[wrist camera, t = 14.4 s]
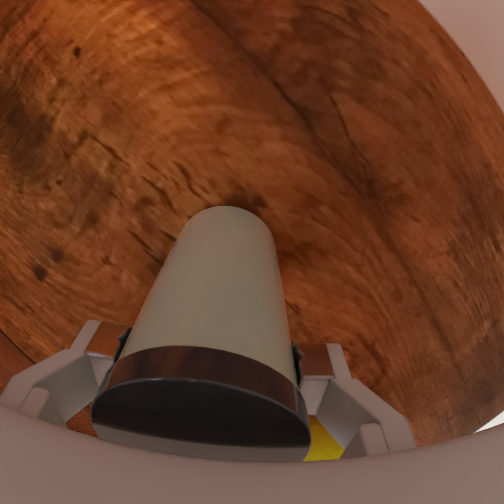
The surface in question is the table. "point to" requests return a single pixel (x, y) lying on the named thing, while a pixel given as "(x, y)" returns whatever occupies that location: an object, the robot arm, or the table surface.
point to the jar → (210, 352)
